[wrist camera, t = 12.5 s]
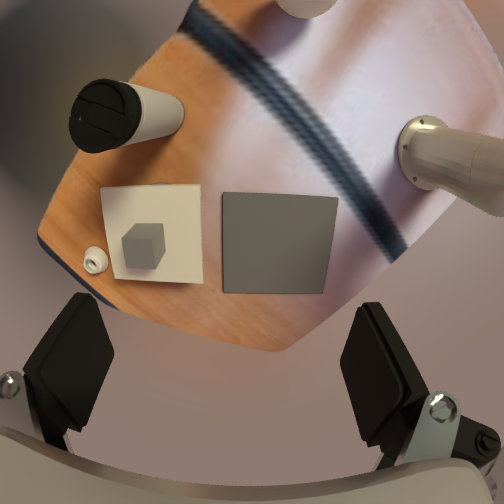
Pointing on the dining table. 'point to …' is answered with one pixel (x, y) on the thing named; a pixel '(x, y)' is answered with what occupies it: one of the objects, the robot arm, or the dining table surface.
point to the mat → (276, 242)
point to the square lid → (154, 232)
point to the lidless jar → (95, 260)
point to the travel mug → (121, 115)
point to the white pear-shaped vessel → (305, 7)
